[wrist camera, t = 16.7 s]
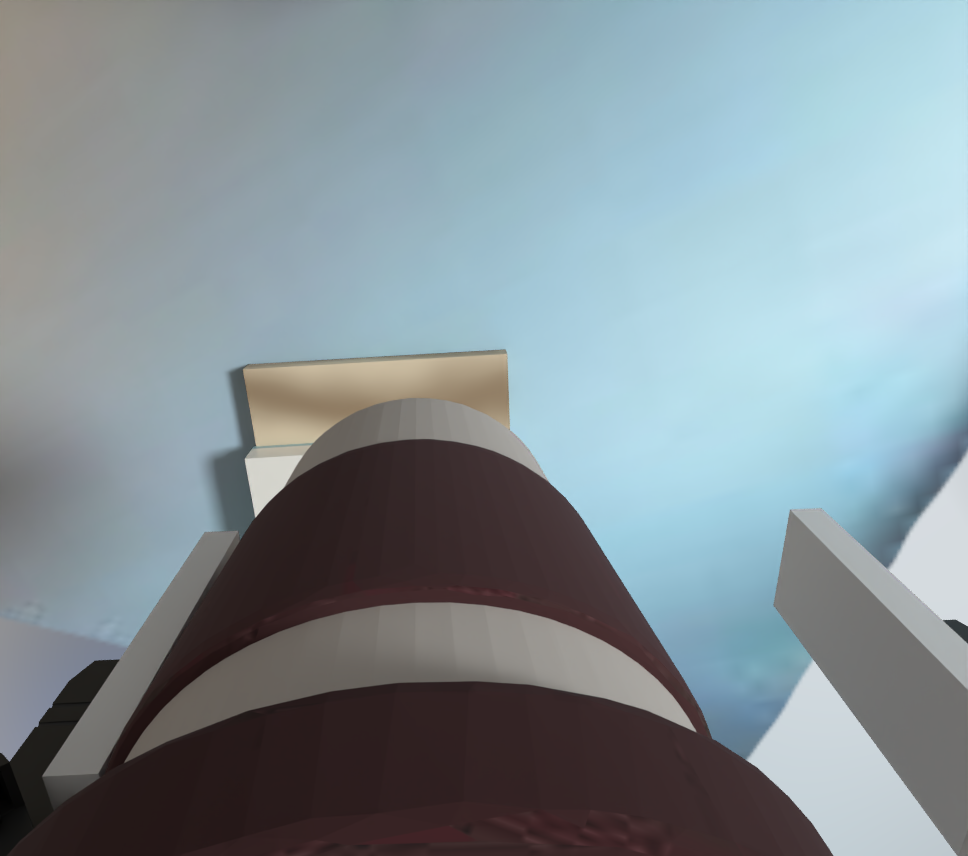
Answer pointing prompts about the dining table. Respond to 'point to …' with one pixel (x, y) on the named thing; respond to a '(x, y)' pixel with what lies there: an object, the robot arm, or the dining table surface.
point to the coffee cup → (421, 681)
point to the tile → (271, 470)
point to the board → (367, 389)
